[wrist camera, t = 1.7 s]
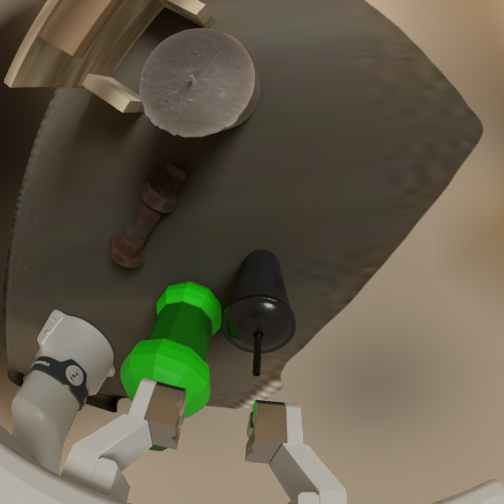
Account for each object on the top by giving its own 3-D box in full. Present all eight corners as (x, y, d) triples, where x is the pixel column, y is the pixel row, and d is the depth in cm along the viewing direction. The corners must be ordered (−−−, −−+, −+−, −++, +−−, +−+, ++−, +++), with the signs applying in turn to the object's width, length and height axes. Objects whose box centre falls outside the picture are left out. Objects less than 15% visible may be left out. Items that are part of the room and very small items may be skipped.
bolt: (189, 167, 38) (137, 247, 43) (158, 151, 35) (108, 237, 40) (199, 187, 34) (141, 274, 39) (164, 169, 31) (108, 264, 36)
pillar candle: (219, 42, 29) (188, 1, 16) (278, 91, 32) (283, 73, 18) (167, 98, 33) (108, 92, 19) (223, 146, 35) (193, 165, 22)
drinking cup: (232, 240, 40) (207, 340, 22) (289, 240, 40) (305, 342, 22) (235, 287, 44) (217, 397, 26) (287, 287, 43) (297, 398, 25)
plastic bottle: (152, 277, 44) (77, 407, 21) (216, 264, 42) (171, 414, 20) (176, 327, 48) (130, 457, 25) (235, 318, 46) (214, 464, 24)
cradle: (216, 18, 28) (178, -49, 11) (141, 114, 33) (54, 121, 17) (166, -8, 25) (104, -68, 9) (97, 85, 31) (3, 81, 15)
